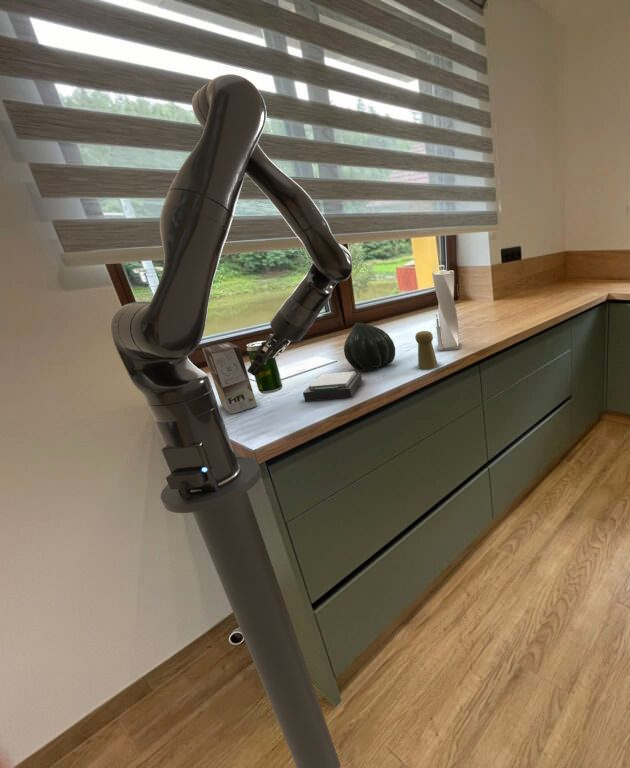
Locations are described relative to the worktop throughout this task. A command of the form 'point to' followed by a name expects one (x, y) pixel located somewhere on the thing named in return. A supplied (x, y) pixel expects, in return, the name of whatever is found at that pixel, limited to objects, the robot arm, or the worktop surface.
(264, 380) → the beer can
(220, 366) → the coffee box
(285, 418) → the worktop surface
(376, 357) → the squash
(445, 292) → the skyscraper
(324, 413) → the worktop surface
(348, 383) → the scale
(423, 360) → the cork
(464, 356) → the worktop surface
